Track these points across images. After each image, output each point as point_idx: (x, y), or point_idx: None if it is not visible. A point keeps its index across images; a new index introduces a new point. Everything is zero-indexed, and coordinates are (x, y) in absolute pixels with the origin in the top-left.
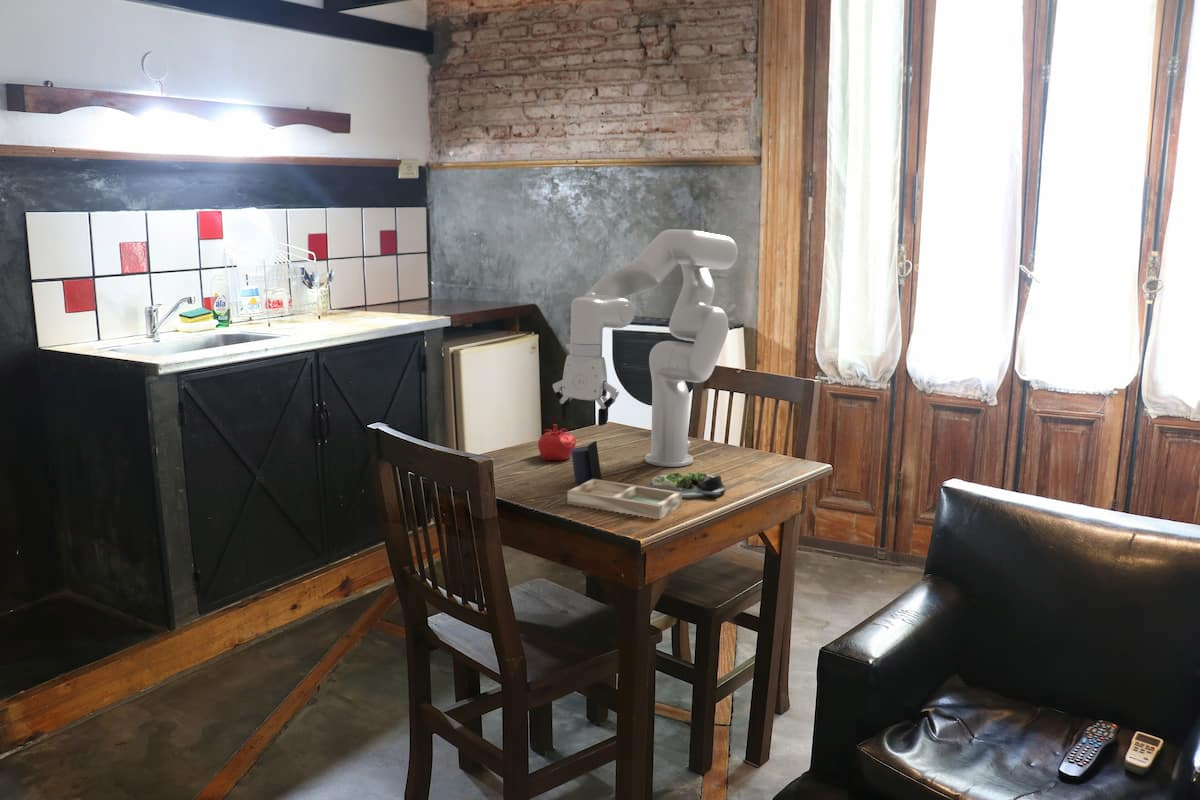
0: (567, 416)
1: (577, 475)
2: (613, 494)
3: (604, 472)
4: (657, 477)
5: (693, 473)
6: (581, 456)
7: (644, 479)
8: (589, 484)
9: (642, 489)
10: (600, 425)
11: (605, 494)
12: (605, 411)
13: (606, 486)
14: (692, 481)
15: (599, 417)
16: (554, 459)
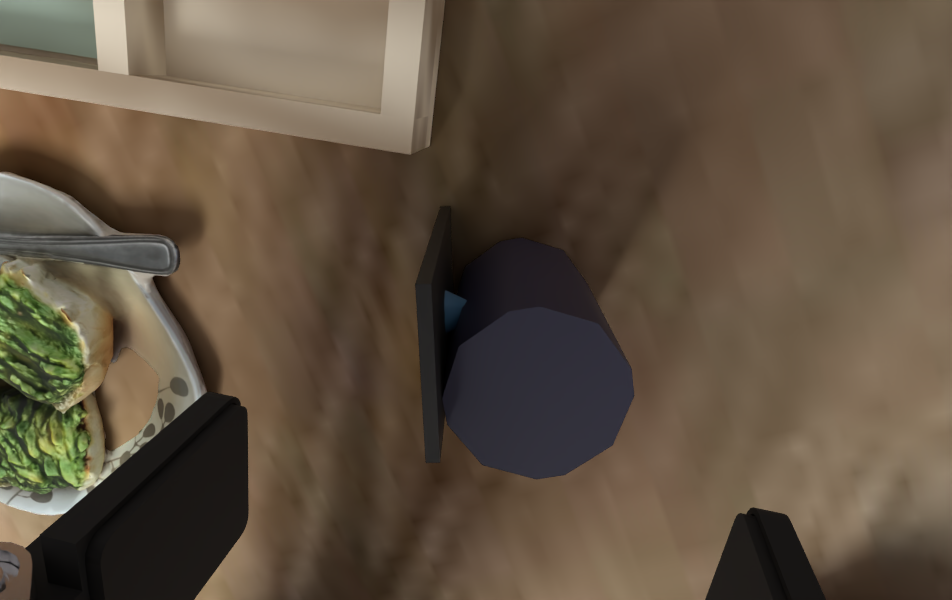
0: (731, 589)
1: (559, 260)
2: (261, 56)
3: (500, 498)
4: None
5: (30, 465)
6: (519, 296)
7: (276, 437)
8: (389, 34)
9: (66, 64)
10: (216, 394)
11: (301, 35)
12: (41, 547)
13: (309, 101)
14: (16, 391)
15: (162, 447)
16: None
